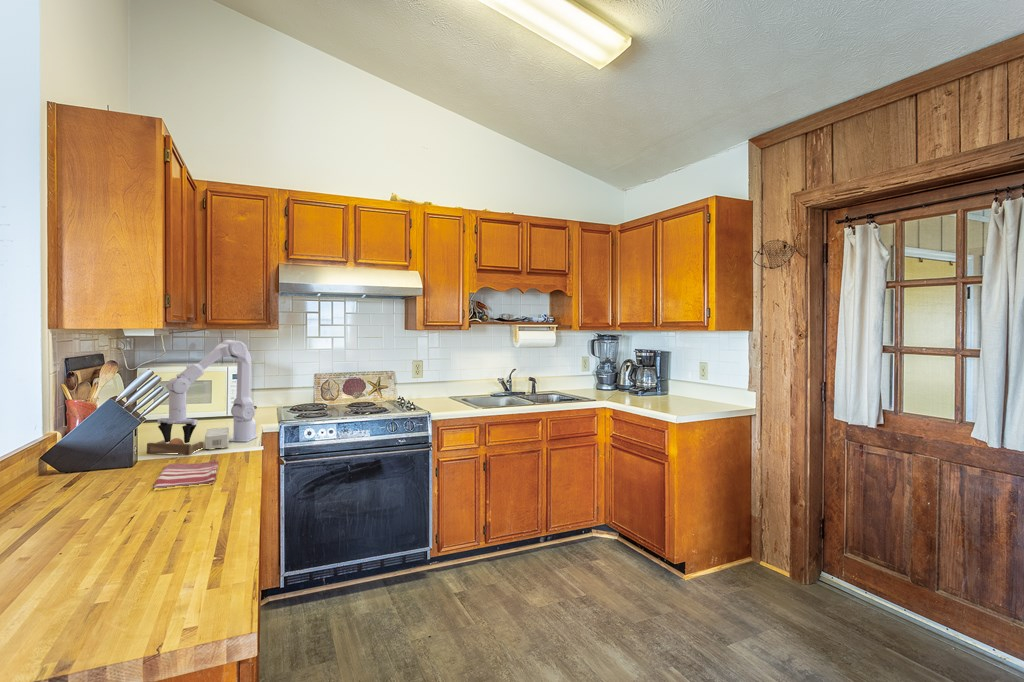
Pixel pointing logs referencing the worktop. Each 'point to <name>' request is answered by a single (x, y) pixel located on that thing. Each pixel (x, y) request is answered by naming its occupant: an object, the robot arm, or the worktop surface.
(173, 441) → the ball
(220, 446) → the skincare box
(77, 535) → the worktop surface
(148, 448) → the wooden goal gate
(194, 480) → the dish towel
